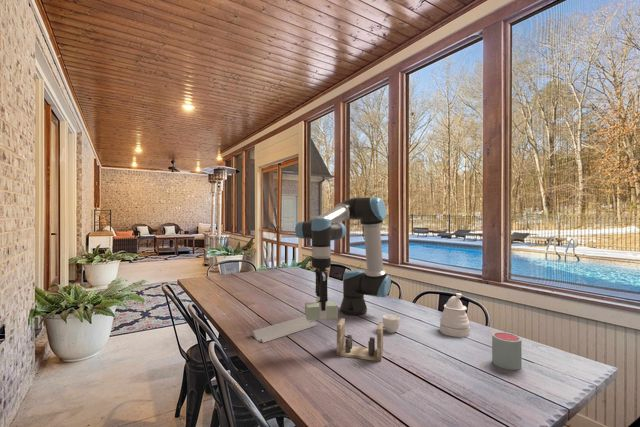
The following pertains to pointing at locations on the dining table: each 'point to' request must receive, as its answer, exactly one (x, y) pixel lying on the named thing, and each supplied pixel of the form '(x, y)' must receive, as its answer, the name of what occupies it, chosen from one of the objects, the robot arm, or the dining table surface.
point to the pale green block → (313, 311)
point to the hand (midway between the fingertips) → (321, 315)
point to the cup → (391, 322)
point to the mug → (506, 350)
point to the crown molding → (281, 329)
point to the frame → (359, 352)
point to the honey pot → (455, 318)
